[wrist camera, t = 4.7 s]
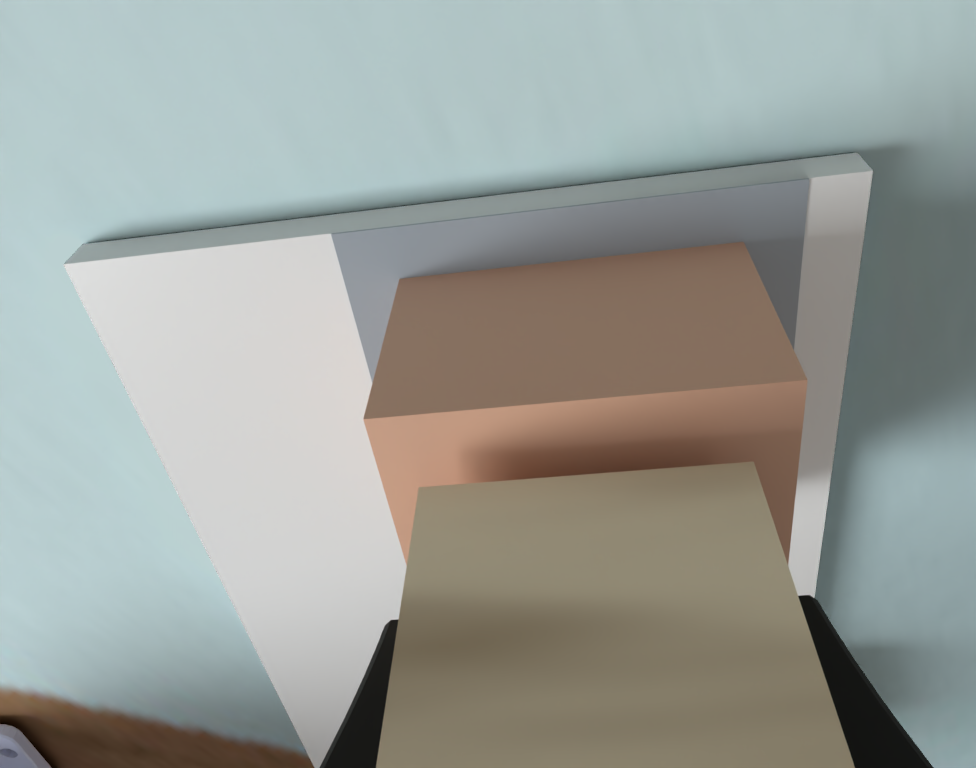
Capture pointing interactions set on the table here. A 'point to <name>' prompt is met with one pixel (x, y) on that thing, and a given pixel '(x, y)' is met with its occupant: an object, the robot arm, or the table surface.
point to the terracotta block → (586, 376)
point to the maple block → (605, 629)
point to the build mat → (353, 361)
